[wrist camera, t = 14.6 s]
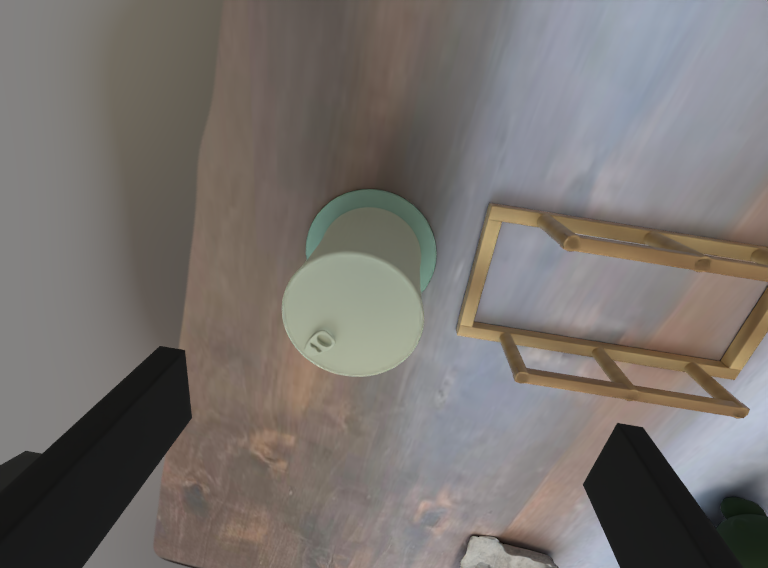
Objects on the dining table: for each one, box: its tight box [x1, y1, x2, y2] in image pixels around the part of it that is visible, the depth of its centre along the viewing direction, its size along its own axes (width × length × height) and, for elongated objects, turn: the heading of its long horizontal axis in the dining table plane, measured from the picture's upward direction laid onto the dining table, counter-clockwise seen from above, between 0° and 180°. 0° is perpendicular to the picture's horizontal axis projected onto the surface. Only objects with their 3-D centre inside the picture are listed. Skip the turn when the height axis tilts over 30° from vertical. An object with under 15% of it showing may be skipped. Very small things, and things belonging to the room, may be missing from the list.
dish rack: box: [456, 203, 768, 418], centre depth 31 cm, size 13×27×7 cm, turn 82°
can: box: [282, 207, 424, 377], centre depth 29 cm, size 9×9×12 cm
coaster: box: [306, 189, 436, 293], centre depth 34 cm, size 12×12×1 cm
